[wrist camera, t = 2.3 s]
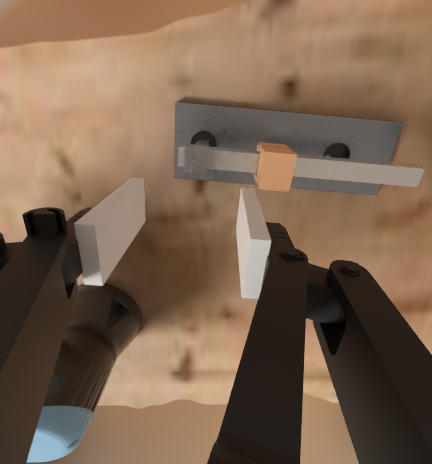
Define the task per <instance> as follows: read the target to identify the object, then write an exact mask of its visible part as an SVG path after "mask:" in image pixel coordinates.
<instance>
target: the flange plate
mask: <svg viewBox="0 0 432 464" xmlns="http://www.w3.org/2000/svg"><path fill="white" fill-rule="evenodd" d="M402 125H403V122H393V121H382V120H371V119H360V118H349V117H338V116H326V115H315V114H304V113H293V112H282V111H271V110H259V109H248V108H237V107H226V106H215V105H204V104H192V103H181V102H175V178H185V179H197V180H208V181H219V182H231V183H242V184H254V185H257V183H256V182H255V179H254V173H250V172H239V171H227V170H216V169H208V170H207V174H198V173H187V172H184V167H182V166H178V147H179V146H180V145H181V144H196V142H197V141H198V140H199V139H204V140H209V147H219V148H231V149H242V150H253V151H256V150H257V145H258V142H262V143H273V144H284V145H287V146H288V147H289V148H290V150H292V151H293V152H294V153H296V154H298V155H310V156H321V157H332V158H344V159H355V160H366V161H377V162H389V161H390V159H391V156H392V153H393V150H394V148H395V145H396V142H397V139H398V136H399V134H400V131H401V128H402ZM380 186H381V184H375V183H364V182H353V181H341V180H330V179H318V178H307V177H296V176H293V177H292V181H291V186H290V188H299V189H311V190H322V191H334V192H345V193H356V194H368V195H378V192H379V189H380Z"/></svg>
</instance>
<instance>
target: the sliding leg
mask: <svg viewBox="0 0 432 464" xmlns="http://www.w3.org/2000/svg"><path fill="white" fill-rule="evenodd" d="M256 151H260V156H259V163H258V170H257V173H254V179H255V182H256V183H257V186H258V188H259V189H261V190H272V191H284V192H289V191H290V186H291V181H292V177H293V172H294V167H295V162H296V158H297V154H296V153H294V152H293V151H292V150H290V148H289V147H288V146H287V145H284V144H273V143H262V142H258V145H257V150H256Z"/></svg>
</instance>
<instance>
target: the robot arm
mask: <svg viewBox="0 0 432 464" xmlns="http://www.w3.org/2000/svg"><path fill="white" fill-rule="evenodd" d="M23 219H24V223H25V227H26V231H27V235H28V236H27V237H26V238H25V240H24V241H23V242H14V243H5V240H4V237H3V234H2V233H0V464H26V462H46V461H51V460H56V459H59V458H61V457H64V456H65V455H67V454H69V453H70V452H72V451H73V450H74V449H75V448H76V447H77V446H78V445H79V443H80V441H81V439H82V437H83V435H84V433H85V431H86V429H87V427H88V425H89V424H90V422H91V420H92V419H93V417H94V412H95V409H96V407H97V405H98V402H99V400H100V397H101V395H102V392H103V390H104V388H105V385H106V383H107V380H108V378H109V375H110V373H111V371H112V368H113V366H114V363H115V361H116V359H117V357H118V356H119V355H120V354H121V353H122V352H123V351H124V350H125V348H126V347H127V346H128V345H129V344H130V343H131V342H132V341H133V339H134V338H135V336H136V334H137V332H138V329H139V327H140V324H141V314H140V311H139V308H138V306H137V305H136V303H135V302H134V301H133V300H132V298H130V297H129V296H128V295H127V294H126V293H124V292H123V291H121V290H119V289H117V288H115V287H112V286H109V285H105V284H104V283H105V282H106V280H107V279H108V277H109V276H110V274H111V273H112V271H113V270H114V268H115V267H116V265H117V264H118V262H119V260H120V259H121V257H122V256H123V254H124V253H125V251H126V250H127V248H128V247H129V245H130V244H131V242H132V241H133V239H134V238H135V236H136V235H137V233H138V232H139V230H140V229H141V227H142V226H143V224H144V223H145V221H146V218H145V192H144V178H135V177H131V178H129V179H128V180H127V181H126V182H124V183H123V184H122V185H121V186H120V187H118V188H117V189H116V190H115V191H113V192H112V193H111V194H110V195H108V196H107V197H106V198H105V199H104V200H102V201H101V202H100V203H99V204H97V205H96V206H95V207H94V208H87V209H84V210H82V211H79V212H78V213H77V214H75V215H74V217H71V218H70V219H69V220H68V221H66V219H65V214H64V211H63V210H62V209H59V208H50V207H48V208H38V209H33V210H30V211H28V212H26V213H24V214H23ZM236 235H237V248H238V260H239V272H240V285H241V297H242V298H250V299H258V302H257V306H256V309H255V312H254V316H253V319H252V323H251V326H250V330H249V333H248V336H247V340H246V343H245V347H244V350H243V354H242V357H241V360H240V364H239V367H238V371H237V374H236V378H235V381H234V384H233V388H232V391H231V395H230V398H229V402H228V405H227V408H226V412H225V416H224V419H223V422H222V425H221V429H220V432H219V435H218V438H217V441H216V442H215V443H214V445H213V448H212V451H211V453H210V457H209V460H208V463H207V464H300V449H301V424H302V398H303V374H304V349H305V324H306V318H308V319H311V320H313V325H314V328H315V331H316V334H317V337H318V340H319V343H320V346H321V349H322V352H323V355H324V358H325V361H326V364H327V367H328V370H329V373H330V376H331V379H332V382H333V385H334V389H335V392H336V395H337V398H338V401H339V404H340V407H341V410H342V413H343V416H344V418H345V422H346V425H347V428H348V431H349V434H350V437H351V440H352V443H353V446H354V449H355V452H356V455H357V459H358V462H359V464H432V355H431V353H430V352H429V351H428V349H427V348H426V347H425V345H424V344H423V343H422V341H421V340H420V339H419V337H418V336H417V335H416V334H415V332H414V331H413V330H412V328H411V327H410V326H409V324H408V323H407V322H406V320H405V319H404V318H403V316H402V315H401V314H400V312H399V311H398V310H397V308H396V307H395V306H394V304H393V303H392V302H391V300H390V299H389V298H388V296H387V295H386V294H385V292H384V291H383V290H382V289H381V287H380V286H379V285H378V283H377V282H376V281H375V279H374V278H373V277H372V275H371V274H370V273H369V272H368V271H367V270H366V269H365V268H364V267H362V266H360V265H359V264H357V263H355V262H354V263H353V262H352V261H345V260H336V261H333V262H332V263H331V264H330V267H329V269H326V268H322V267H318V266H315V265H312V264H310V263H308V258H307V255H306V254H304V253H303V252H302V251H300V250H298V249H295V248H294V246H293V243H292V241H291V239H290V237H289V235H288V233H287V231H286V228H284V227H283V226H282V225H281V224H279V223H270V222H265V220H264V217H263V213H262V210H261V207H260V204H259V201H258V198H257V195H256V192H255V189H254V188H248V187H241V193H240V201H239V209H238V217H237V225H236ZM81 273H82V275H83V281H84V285H81V286H78V285H77V280H76V279H77V278H78V277H79V276H80V275H81Z"/></svg>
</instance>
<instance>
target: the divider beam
mask: <svg viewBox="0 0 432 464" xmlns="http://www.w3.org/2000/svg"><path fill="white" fill-rule="evenodd" d="M259 156H260V151H253V150H242V149H231V148H219V147H209V140H204V139H199V140H198V141H197V142H196V144H181V145H180V146H179V147H178V166H182V167H184V172H187V173H198V174H207V170H208V169H216V170H227V171H239V172H250V173H257V170H258V163H259ZM424 171H425V168H422V167H419V166H416V165H411V164H400V163H389V162H377V161H366V160H355V159H344V158H332V157H321V156H310V155H298V154H297V158H296V162H295V167H294V172H293V176H296V177H307V178H318V179H330V180H341V181H353V182H364V183H375V184H387V185H398V186H409V187H418V185H419V183H420V180H421V178H422V175H423V173H424Z"/></svg>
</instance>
